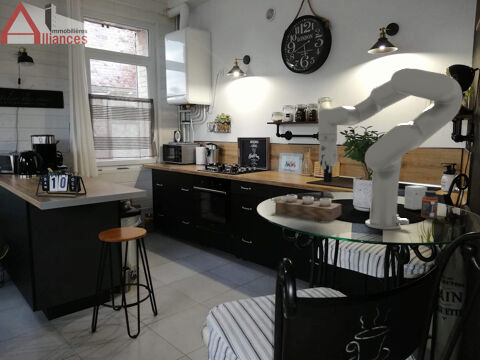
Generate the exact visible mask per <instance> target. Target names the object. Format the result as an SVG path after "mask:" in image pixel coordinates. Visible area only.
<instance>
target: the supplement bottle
mask: <svg viewBox="0 0 480 360" xmlns="http://www.w3.org/2000/svg"><path fill="white" fill-rule="evenodd" d="M438 203H439V197H438V196H437V191H435V190H427V191H425V196H423V197H422V208H421V209H420V210H421V212H420V217H422V218H424V219H429V220H434V219H437V217H438V205H439V204H438Z"/></svg>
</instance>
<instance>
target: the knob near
mask: <svg viewBox="0 0 480 360" xmlns="http://www.w3.org/2000/svg"><path fill="white" fill-rule="evenodd" d="M319 202H320V205H322V206H331V203H332V199H331V198H327V197H321V198H319Z"/></svg>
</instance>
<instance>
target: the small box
mask: <svg viewBox="0 0 480 360" xmlns="http://www.w3.org/2000/svg"><path fill="white" fill-rule="evenodd" d="M404 187H405V189H404V202H403V204H404V205H403V206H404V208H405V209H408V210H421V208H422V197H423V196H425V191H428V186H424V185H405V186H404Z"/></svg>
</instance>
